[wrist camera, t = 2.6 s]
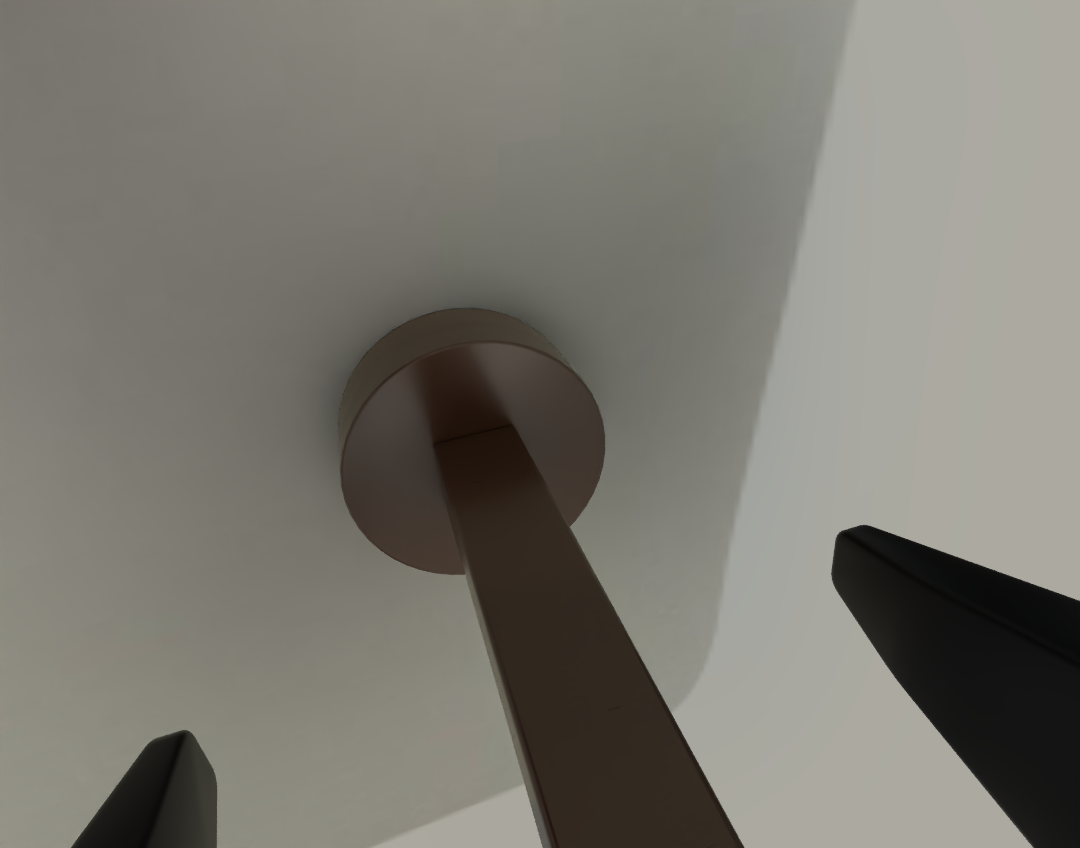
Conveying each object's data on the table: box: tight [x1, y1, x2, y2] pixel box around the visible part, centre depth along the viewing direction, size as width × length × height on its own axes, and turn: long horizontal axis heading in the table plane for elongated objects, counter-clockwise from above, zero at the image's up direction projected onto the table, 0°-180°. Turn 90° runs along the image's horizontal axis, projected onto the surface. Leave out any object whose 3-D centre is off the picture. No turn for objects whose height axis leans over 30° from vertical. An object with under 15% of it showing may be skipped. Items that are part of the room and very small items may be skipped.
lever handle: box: [338, 309, 744, 848], centre depth 10 cm, size 5×5×11 cm
